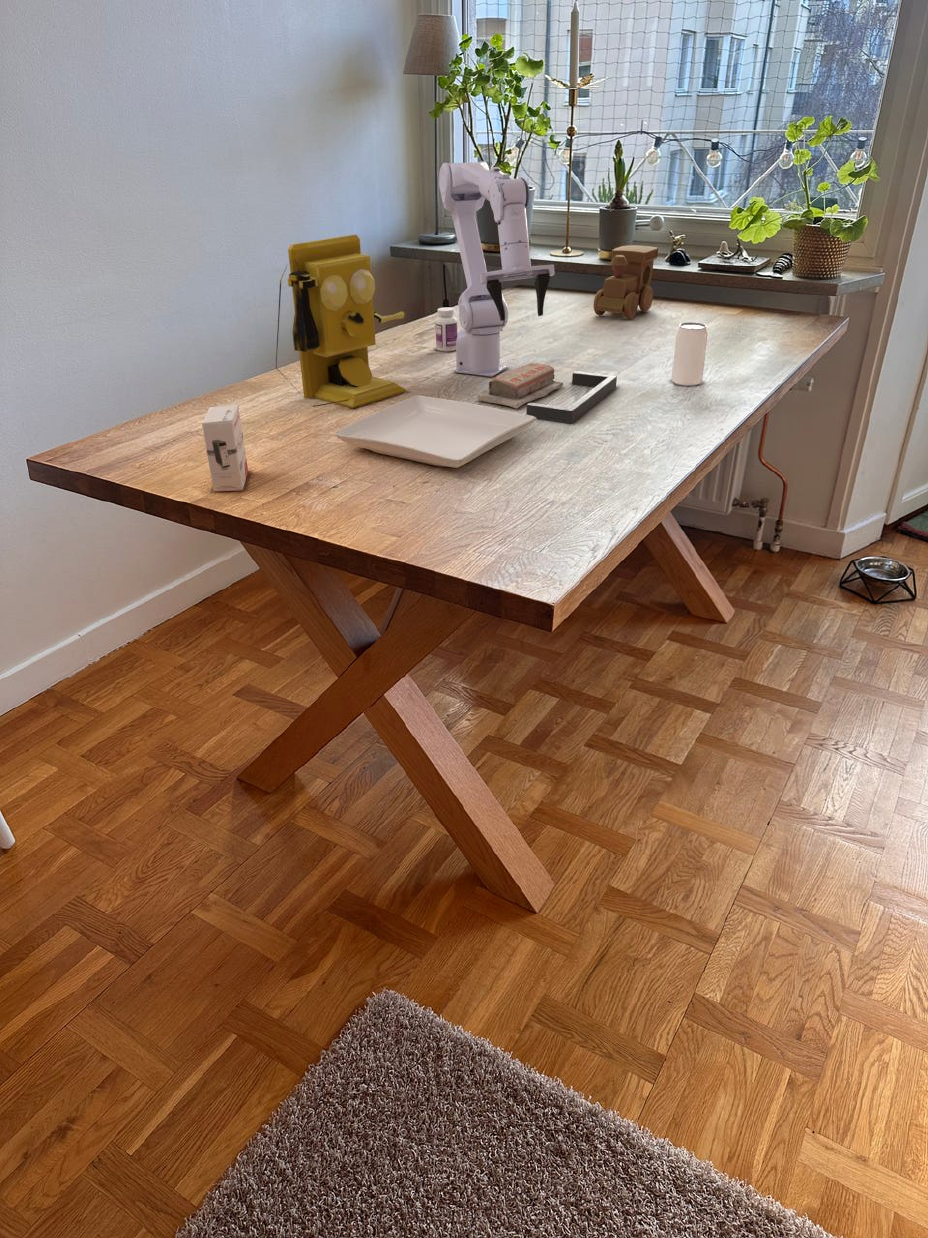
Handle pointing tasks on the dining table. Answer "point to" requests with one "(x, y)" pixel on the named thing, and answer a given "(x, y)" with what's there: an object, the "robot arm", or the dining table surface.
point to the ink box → (225, 448)
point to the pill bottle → (446, 330)
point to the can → (689, 354)
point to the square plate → (434, 430)
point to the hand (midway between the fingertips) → (521, 317)
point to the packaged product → (520, 385)
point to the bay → (576, 410)
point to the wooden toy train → (628, 282)
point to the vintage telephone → (335, 321)
